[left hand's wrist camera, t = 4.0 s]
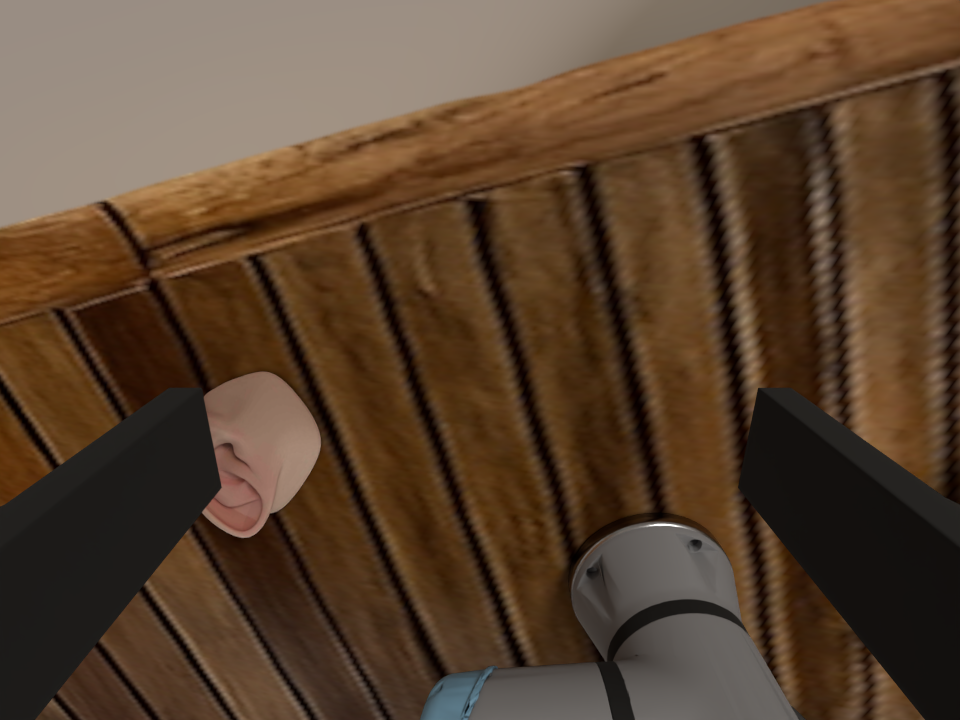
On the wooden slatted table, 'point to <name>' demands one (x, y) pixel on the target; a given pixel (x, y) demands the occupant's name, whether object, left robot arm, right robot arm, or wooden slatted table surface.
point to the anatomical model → (258, 449)
